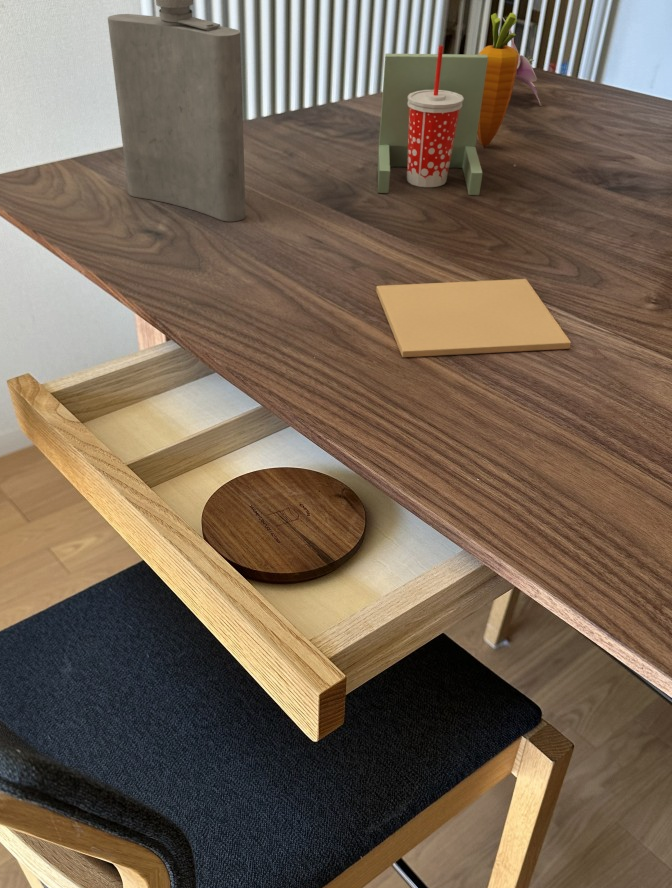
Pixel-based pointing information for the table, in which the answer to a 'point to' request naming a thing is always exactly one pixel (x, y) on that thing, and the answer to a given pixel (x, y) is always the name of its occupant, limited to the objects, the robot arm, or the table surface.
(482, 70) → the tablet stand
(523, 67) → the lily
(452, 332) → the cork mat
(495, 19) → the carrot
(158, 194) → the hip flask
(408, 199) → the table surface
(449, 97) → the beverage cup
